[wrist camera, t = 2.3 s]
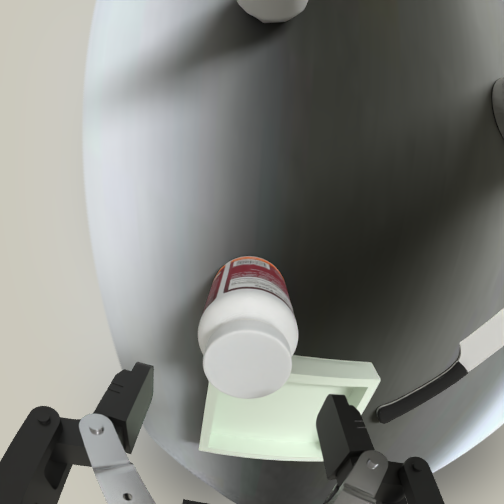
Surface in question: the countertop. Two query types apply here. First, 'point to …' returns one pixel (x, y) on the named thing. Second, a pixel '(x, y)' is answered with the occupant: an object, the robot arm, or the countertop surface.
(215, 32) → the countertop surface
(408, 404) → the kitchen cleaver
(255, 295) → the pill bottle
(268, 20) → the salt shaker
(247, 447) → the collection tray
